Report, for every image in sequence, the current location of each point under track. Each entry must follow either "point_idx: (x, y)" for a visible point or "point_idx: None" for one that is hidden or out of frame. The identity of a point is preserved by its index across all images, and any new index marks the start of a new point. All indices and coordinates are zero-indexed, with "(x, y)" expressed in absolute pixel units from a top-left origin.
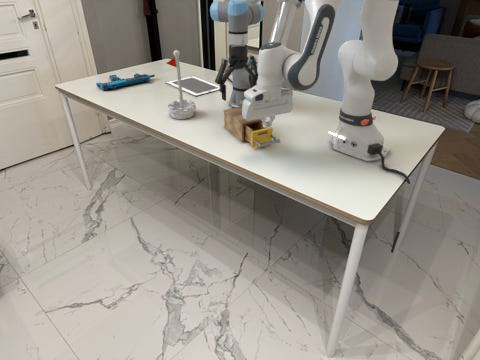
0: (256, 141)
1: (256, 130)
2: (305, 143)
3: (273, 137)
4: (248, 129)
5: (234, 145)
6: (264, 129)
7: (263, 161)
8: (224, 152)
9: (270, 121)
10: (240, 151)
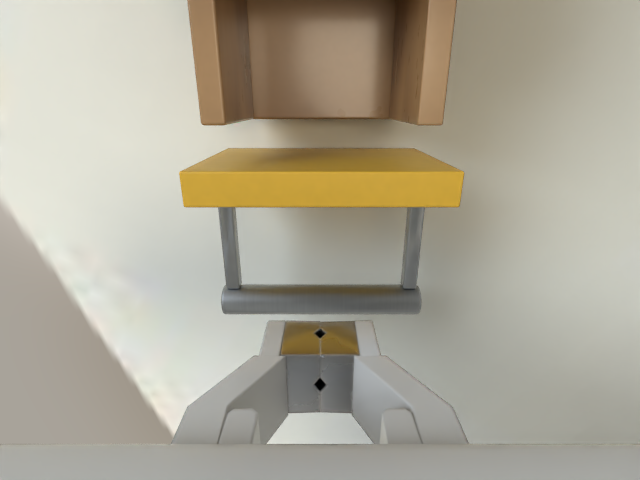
0: (226, 241)
1: (251, 176)
2: (624, 263)
3: (407, 239)
4: (196, 52)
5: (122, 24)
6: (352, 195)
7: (234, 331)
8: (12, 105)
9: (362, 413)
10: (139, 151)
